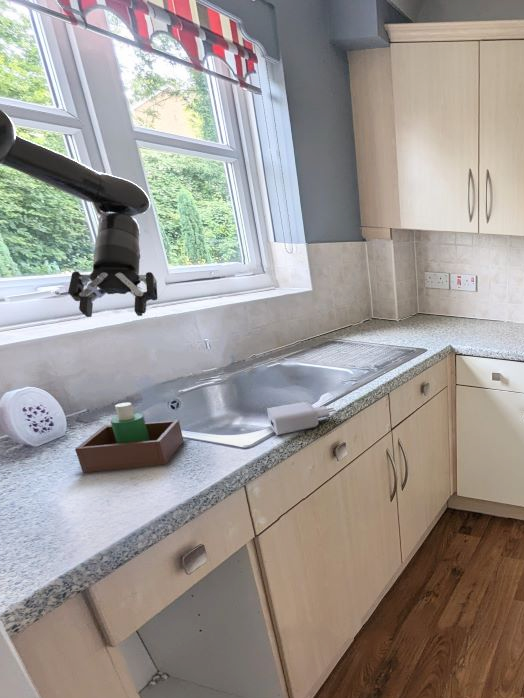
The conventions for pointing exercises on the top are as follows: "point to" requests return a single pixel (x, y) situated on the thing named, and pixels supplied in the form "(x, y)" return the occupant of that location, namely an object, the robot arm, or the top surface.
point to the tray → (130, 448)
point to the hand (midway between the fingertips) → (113, 314)
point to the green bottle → (128, 425)
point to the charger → (295, 417)
